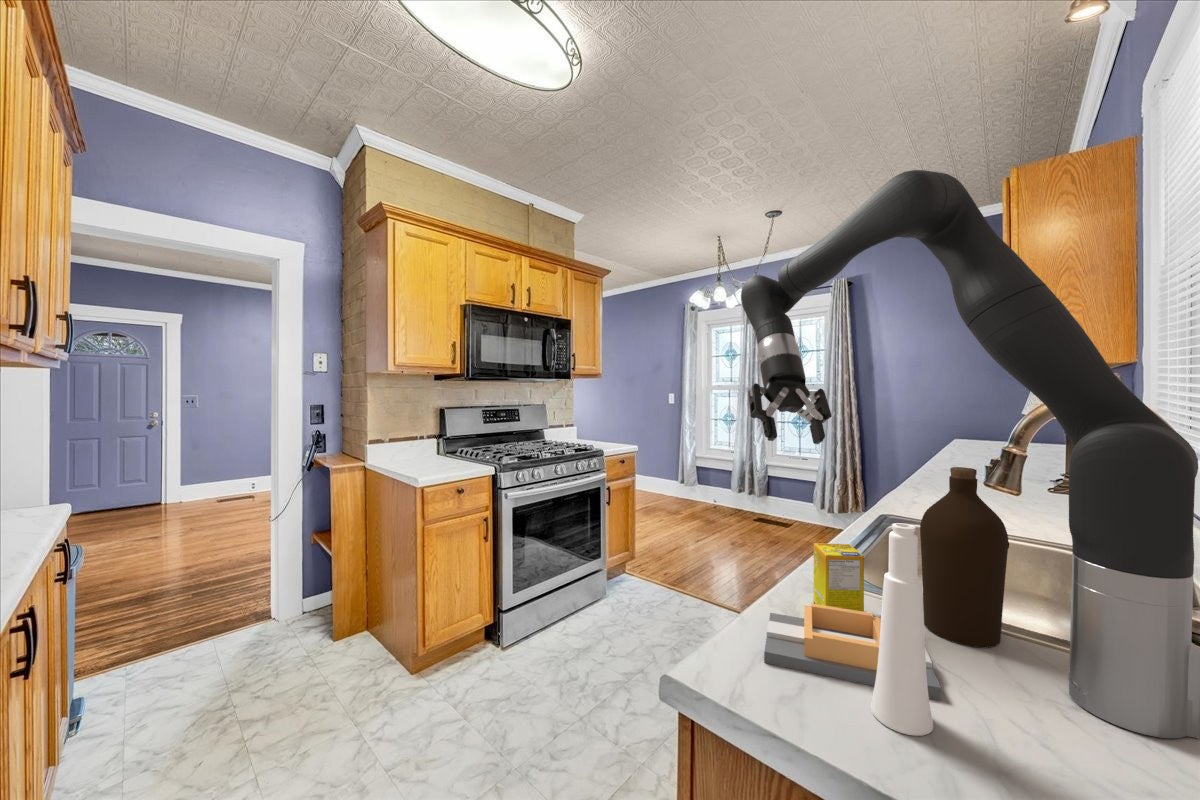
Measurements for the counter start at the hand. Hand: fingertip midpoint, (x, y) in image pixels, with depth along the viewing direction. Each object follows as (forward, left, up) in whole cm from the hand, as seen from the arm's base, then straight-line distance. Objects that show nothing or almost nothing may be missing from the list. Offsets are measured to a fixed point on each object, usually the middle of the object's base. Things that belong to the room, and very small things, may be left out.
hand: (796, 440), depth 83 cm
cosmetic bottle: (-12, +28, -28) cm, 41 cm away
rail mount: (-7, +16, -28) cm, 33 cm away
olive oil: (-24, +2, -28) cm, 37 cm away
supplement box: (-7, +3, -28) cm, 29 cm away
